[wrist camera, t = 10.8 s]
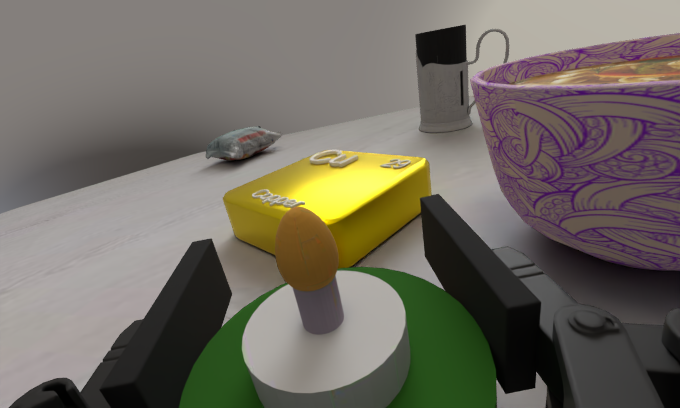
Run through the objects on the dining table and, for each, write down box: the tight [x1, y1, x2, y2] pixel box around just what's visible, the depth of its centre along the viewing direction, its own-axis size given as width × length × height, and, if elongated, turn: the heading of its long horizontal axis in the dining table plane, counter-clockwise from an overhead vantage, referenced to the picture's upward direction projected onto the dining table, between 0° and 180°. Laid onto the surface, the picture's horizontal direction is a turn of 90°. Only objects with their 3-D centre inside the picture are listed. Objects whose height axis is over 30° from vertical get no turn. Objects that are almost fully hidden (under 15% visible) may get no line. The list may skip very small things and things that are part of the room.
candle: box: [179, 207, 497, 408], centre depth 10 cm, size 8×8×10 cm
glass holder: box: [416, 25, 509, 133], centre depth 55 cm, size 9×14×15 cm, turn 57°
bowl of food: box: [470, 33, 680, 271], centre depth 21 cm, size 20×20×12 cm
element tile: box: [223, 150, 431, 269], centre depth 33 cm, size 15×15×5 cm
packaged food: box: [206, 126, 282, 160], centre depth 64 cm, size 9×12×5 cm
